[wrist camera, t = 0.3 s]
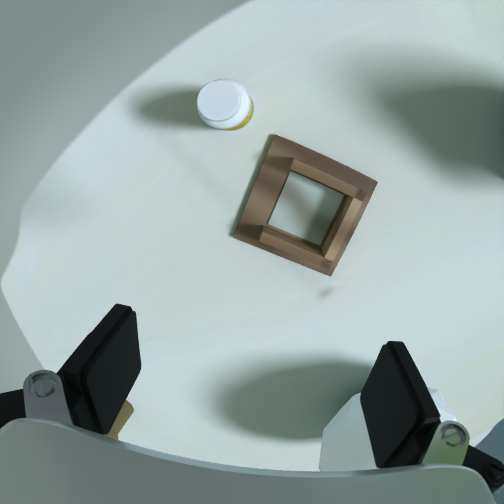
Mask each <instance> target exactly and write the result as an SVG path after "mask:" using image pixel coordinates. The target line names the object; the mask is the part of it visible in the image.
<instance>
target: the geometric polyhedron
mask: <svg viewBox="0 0 504 504" xmlns="http://www.w3.org/2000/svg"><path fill="white" fill-rule="evenodd" d="M427 388H428V387H427ZM428 390H429V392H430V395H431V397H432V399H433V401H434V403H435V405H436V407H437V409H438V411H439V413H440V415H441V417H440V420H441V422H444V421H448V420H450V421H456V422H457V420H456V417H455V415H454V414H453V412H452V411H451V409H450V407H449V406H448V404H447V403H446V401H445V400H444V398H443V397H442V395H441V394H440V392H439V391H438V390H436V389H432V388H428ZM360 395H361V393H358V394H355V395H353V396H352V397H351V398H350V399H349V400H348V402H347V403H346V404H345V405H344V406H343V407H342V408H341V409H340V410H339V411H338V413H337V414H336V415H335V416H334V417H333V419H332V420H331V421H330V422H329V423H328V424H327V426H326V427H325V428H324V429H323V435H322V445H321V453H320V462H319V470H320V472H328V471H356V470H370V469H380V468H377V467H376V465H375V460H374V456H373V451H372V447H371V443H370V439H369V435H368V430H367V426H366V422H365V418H364V415H363V411H362V407H361V403H360Z"/></svg>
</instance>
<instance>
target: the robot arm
mask: <svg viewBox="0 0 504 504" xmlns="http://www.w3.org/2000/svg"><path fill="white" fill-rule="evenodd" d="M140 370H141V358H140V350H139V341H138V331H137V319H136V312H135V311H132V308H131V307H130V306H126V305H122V304H115V305H114V307H113V308H112V309H111V310H110V311H109V312H108V313H107V315H106V316H105V317H104V318H103V319H102V320H101V322H100V323H99V324H98V325H97V326H96V327H95V329H94V330H93V331H92V332H91V333H89V334H88V335H87V337H86V338H85V339H84V340H83V341H82V343H81V344H80V345H79V346H78V347H77V349H76V350H75V351H74V352H73V353H72V355H71V356H70V357H69V358H68V360H67V361H66V362H65V363H64V365H63V366H62V367H61V368H60V370H59V371H58V372H57V373H55V372H53V371H49V370H39V371H36V372H33V373H32V374H30V375H29V376H28V377H27V378H26V379H25V381H24V385H23V389H20V390H15V391H10V392H6V393H1V394H0V504H504V465H503V464H502V462H500V461H499V460H497V459H495V458H493V457H491V456H489V455H488V454H486V453H484V452H482V451H480V450H478V449H476V448H474V447H472V446H470V445H469V440H470V437H469V433H468V431H467V430H466V428H465V427H464V426H463V425H461V424H460V423H458V422H456V421H450V420H448V421H444V422H441V420H440V417H441V415H440V413H439V411H438V409H437V407H436V405H435V403H434V401H433V399H432V397H431V395H430V392H429V390H428V388H427V386H426V384H425V382H424V380H423V378H422V377H421V375H420V373H419V371H418V369H417V367H416V365H415V363H414V361H413V359H412V357H411V355H410V354H409V352H408V350H407V348H406V346H405V344H404V343H403V342H400V341H388V342H387V344H385V345H383V346H382V348H381V350H380V353H379V355H378V357H377V360H376V362H375V364H374V366H373V369H372V371H371V373H370V375H369V377H368V379H367V382H366V384H365V386H364V388H363V390H362V392H361V395H360V403H361V407H362V411H363V415H364V418H365V422H366V426H367V430H368V435H369V439H370V443H371V447H372V451H373V456H374V460H375V465H376V467H377V468H380V469H370V470H356V471H328V472H312V471H283V470H268V469H257V468H247V467H239V466H231V465H224V464H218V463H211V462H206V461H200V460H195V459H190V458H185V457H180V456H176V455H171V454H167V453H163V452H159V451H155V450H151V449H147V448H144V447H140V446H137V445H133V444H130V443H126V442H123V441H120V440H117V439H113V438H110V437H107V436H104V434H105V435H107V434H108V433H109V432H110V430H111V428H112V426H113V424H114V422H115V420H116V418H117V416H118V414H119V412H120V410H121V408H122V406H123V404H124V402H125V400H126V398H127V396H128V394H129V392H130V390H131V388H132V387H133V385H134V383H135V381H136V379H137V377H138V375H139V373H140Z"/></svg>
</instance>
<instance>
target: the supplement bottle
mask: <svg viewBox="0 0 504 504" xmlns="http://www.w3.org/2000/svg"><path fill="white" fill-rule="evenodd" d="M197 109H198V113H199V115H200V117H201V119H202V120H203V121H204V122H205V123H206V124H208V125H209V126H211V127H214V128H216V129H223V130H237V129H240V128H242V127H244V126H245V125H246V124H247V123H248V122H249V121H250V120H251V118H252V115H253V110H254V108H253V102H252V99H251V98H250V96H249V94H248V92H247V91H246V89H245V88H244V87H243V86H242V85H241V84H240V83H238V82H236V81H234V80H231V79H218V80H214V81H212V82H209V83H208V84H206V85H205V86H204V87H203V88H202V89H201V90H200V92H199V94H198V97H197Z"/></svg>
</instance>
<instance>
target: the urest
mask: <svg viewBox="0 0 504 504" xmlns="http://www.w3.org/2000/svg"><path fill="white" fill-rule="evenodd" d="M377 183H378V182H377V181H375V180H373V179H371V178H369V177H367V176H365V175H363V174H361V173H359V172H357V171H355V170H353V169H351V168H349V167H347V166H345V165H343V164H341V163H339V162H337V161H335V160H333V159H331V158H328V157H326V156H324V155H322V154H320V153H318V152H315V151H313V150H311V149H309V148H306V147H304V146H302V145H299V144H297V143H295V142H292V141H290V140H288V139H285V138H283V137H280V136H278V135H275V136H274V138H273V141H272V143H271V146H270V148H269V150H268V153H267V155H266V158H265V160H264V162H263V165H262V167H261V170H260V172H259V175H258V177H257V179H256V182H255V184H254V187H253V189H252V192H251V194H250V197H249V199H248V202H247V204H246V207H245V209H244V212H243V214H242V217H241V219H240V222H239V224H238V227H237V229H236V232H235V234H234V237H233V238H236V239H238V240H241V241H243V242H246V243H248V244H251V245H253V246H256V247H258V248H261V249H263V250H266V251H268V252H271V253H273V254H276V255H278V256H281V257H283V258H286V259H288V260H291V261H293V262H296V263H298V264H301V265H303V266H306V267H308V268H311V269H313V270H316V271H318V272H321V273H323V274H326V275H328V276H331V275H332V273H333V272H334V270H335V268H336V266H337V264H338V262H339V260H340V258H341V256H342V255H343V253H344V251H345V249H346V247H347V245H348V243H349V241H350V239H351V237H352V235H353V233H354V231H355V229H356V227H357V225H358V223H359V221H360V219H361V217H362V215H363V213H364V210H365V208H366V206H367V204H368V202H369V200H370V198H371V196H372V194H373V191H374V189H375V187H376V185H377Z"/></svg>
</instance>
